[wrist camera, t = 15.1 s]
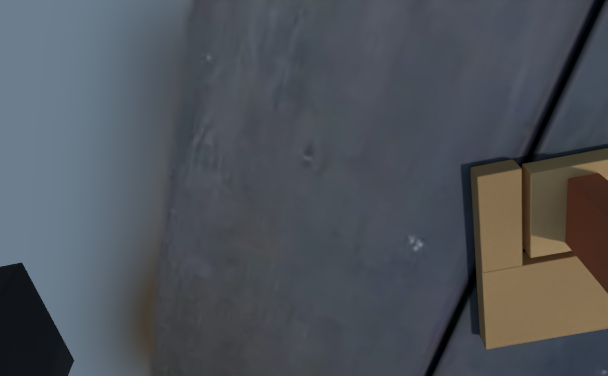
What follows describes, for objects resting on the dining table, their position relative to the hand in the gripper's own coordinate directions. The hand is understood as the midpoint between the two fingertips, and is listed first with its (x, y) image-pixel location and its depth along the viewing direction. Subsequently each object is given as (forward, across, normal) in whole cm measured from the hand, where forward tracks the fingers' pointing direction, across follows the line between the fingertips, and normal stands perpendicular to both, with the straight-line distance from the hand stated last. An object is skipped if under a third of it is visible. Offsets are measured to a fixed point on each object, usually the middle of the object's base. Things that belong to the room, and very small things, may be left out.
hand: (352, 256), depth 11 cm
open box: (+29, +19, -19) cm, 39 cm away
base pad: (+29, +19, -24) cm, 42 cm away
